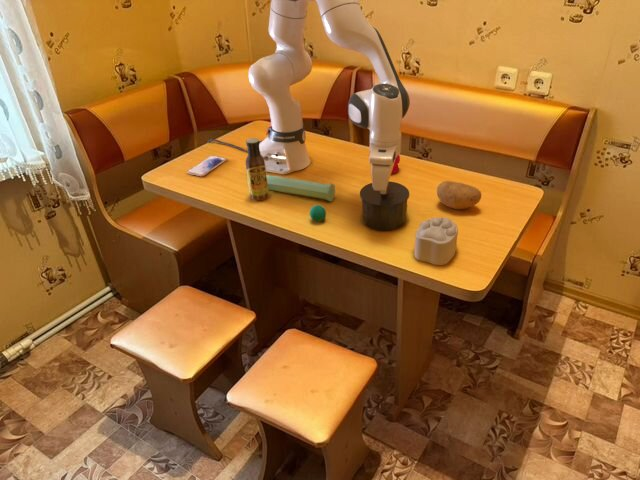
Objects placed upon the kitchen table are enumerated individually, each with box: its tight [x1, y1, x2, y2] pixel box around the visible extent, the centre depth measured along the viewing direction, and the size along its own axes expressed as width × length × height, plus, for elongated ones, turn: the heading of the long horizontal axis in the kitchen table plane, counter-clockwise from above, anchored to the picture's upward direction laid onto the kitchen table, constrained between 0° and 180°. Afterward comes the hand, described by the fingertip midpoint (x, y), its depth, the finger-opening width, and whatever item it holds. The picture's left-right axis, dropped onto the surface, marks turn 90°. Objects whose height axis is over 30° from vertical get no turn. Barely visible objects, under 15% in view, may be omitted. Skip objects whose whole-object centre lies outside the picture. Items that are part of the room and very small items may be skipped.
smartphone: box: [187, 154, 227, 177], centre depth 183 cm, size 7×1×15 cm
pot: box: [361, 199, 408, 232], centre depth 151 cm, size 14×14×8 cm
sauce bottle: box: [245, 137, 269, 201], centre depth 159 cm, size 6×6×20 cm
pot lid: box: [359, 180, 410, 207], centre depth 147 cm, size 15×15×5 cm
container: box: [267, 174, 336, 203], centre depth 165 cm, size 6×6×25 cm
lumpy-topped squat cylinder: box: [414, 216, 459, 266], centre depth 137 cm, size 10×13×9 cm
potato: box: [436, 180, 482, 210], centre depth 156 cm, size 10×14×8 cm
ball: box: [309, 204, 327, 223], centre depth 152 cm, size 5×5×5 cm
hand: (384, 189), depth 147 cm, fingers closed on pot lid, 2 cm apart
